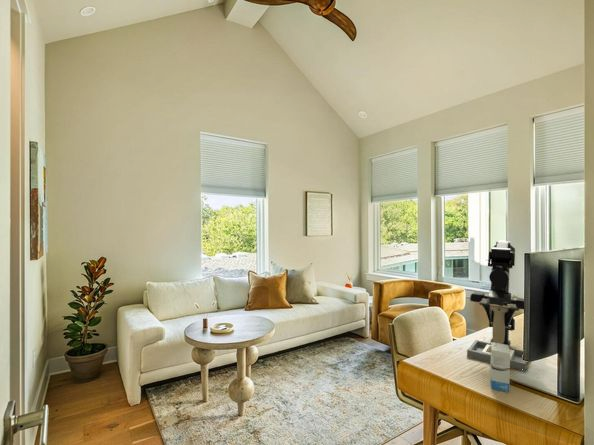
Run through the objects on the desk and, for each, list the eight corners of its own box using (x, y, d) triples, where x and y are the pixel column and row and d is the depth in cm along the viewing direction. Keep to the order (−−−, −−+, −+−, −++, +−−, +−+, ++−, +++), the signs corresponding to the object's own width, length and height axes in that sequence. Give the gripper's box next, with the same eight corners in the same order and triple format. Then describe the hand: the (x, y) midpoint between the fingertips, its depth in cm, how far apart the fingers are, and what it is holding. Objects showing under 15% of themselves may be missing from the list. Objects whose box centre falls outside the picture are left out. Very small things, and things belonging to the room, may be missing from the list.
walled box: (475, 346, 136) (475, 339, 136) (529, 358, 125) (529, 351, 125) (467, 356, 125) (467, 349, 125) (524, 371, 114) (525, 363, 114)
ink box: (509, 393, 99) (510, 353, 99) (490, 388, 102) (491, 350, 101) (507, 381, 107) (508, 344, 106) (489, 377, 109) (490, 341, 109)
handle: (508, 350, 121) (509, 308, 121) (488, 346, 125) (489, 306, 125) (508, 345, 126) (509, 305, 125) (488, 342, 129) (489, 303, 129)
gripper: (467, 281, 124) (466, 323, 125) (528, 288, 113) (526, 335, 113) (474, 277, 133) (473, 316, 133) (531, 284, 121) (530, 327, 121)
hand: (498, 323), depth 125 cm, fingers closed on handle, 5 cm apart
